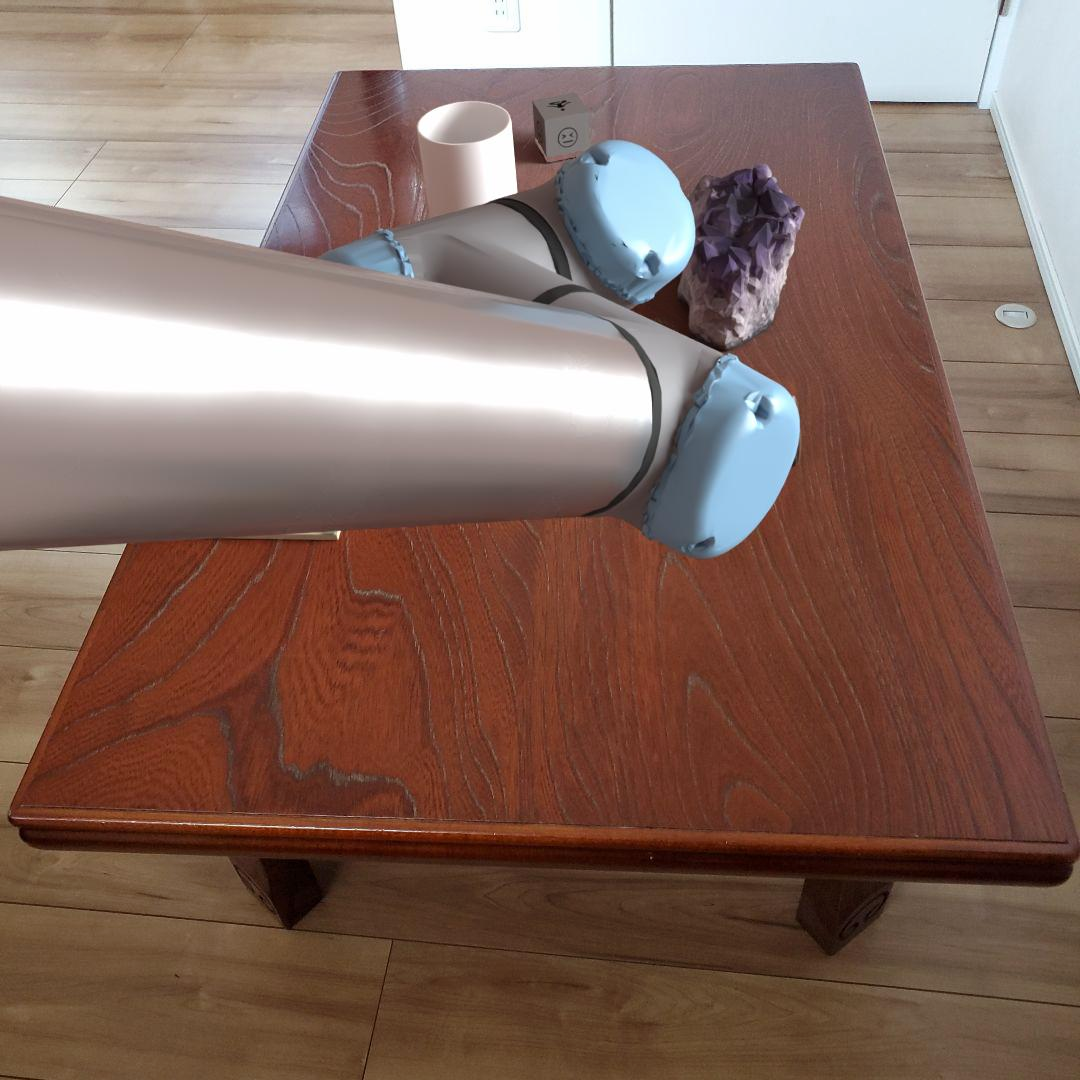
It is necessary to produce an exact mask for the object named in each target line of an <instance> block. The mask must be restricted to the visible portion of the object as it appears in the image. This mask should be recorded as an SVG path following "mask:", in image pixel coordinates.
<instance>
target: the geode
mask: <svg viewBox="0 0 1080 1080" xmlns="http://www.w3.org/2000/svg"><path fill="white" fill-rule="evenodd" d="M772 175H773V172H772V170H771V169H770V167H769V165H768V164H766V163H757V164H754V167H753V168H742V169H738V170H737V169H736V170H734V171H733V172H730V173H729V174H727V175H725V176H722V177H718V176H714V175H710V174H706V175H703V176H702V177H701V178H699V180H698V182H697V183H696V184H695V186H694V187H693V189H692V190H691V191H690V192H689V195H688V196H687V197H686V198H687V199H688V201H689V202H690V205H691V209H692V212H693V216H694V223H695V243H694V248H693V252H692V255H691V257H690V259H689V261H688V263H687V265H686V267H685V268H684V269H683V271H682V272H681V276H680V281H679V283H678V287H677V290H676V297H677V299H678V300H680V301H681V302H682V303H684V304H687V305H688V308H689V312H688V331H689V336H690V337H691V338H692V339H693V340H695V341H697V342H699V343H701V344H703V345H705V346H708V347H710V348H712V349H715V350H718V351H723V352H725V351H731V350H733V349H736V348H738V347H740V346H742V345H744V344H745V343H747V342H749V341H752V340H753V339H754V338H756V336H758V335H759V334H761V333H764V332H765V331H766V330H767V329H769V327H770V326H772V323H773V322H774V317H775V313H776V312H777V310H778V307H779V304H780V294H781V291H782V289H783V286H784V285H787V284H786V280H787V279H788V276H787V269H788V267H789V266H790V264H789V263H790V262H789V261H790V259H791V258H792V256H793V254H794V252H795V243H796V237H797V233H798V232H799V231H800V229H801V225H802V222H803V220H804V217H805V215H806V212H805V211H804V209H803V208H802V207H801V205H797V203H796V201H795V200H794V198H792V197H790V196H789V195H788V194H785V193H783V191H782V190H781V188H780V187H779V186H778V184H777V182H778V179H777V178H776V177H774V176H772Z"/></svg>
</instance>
